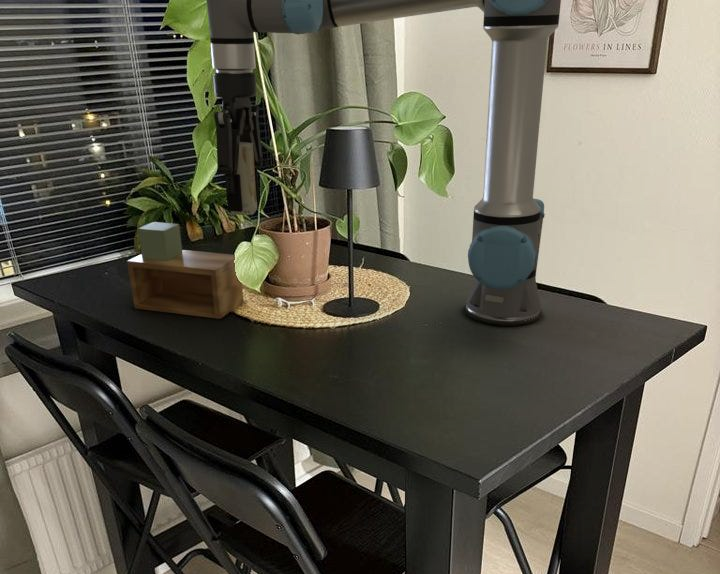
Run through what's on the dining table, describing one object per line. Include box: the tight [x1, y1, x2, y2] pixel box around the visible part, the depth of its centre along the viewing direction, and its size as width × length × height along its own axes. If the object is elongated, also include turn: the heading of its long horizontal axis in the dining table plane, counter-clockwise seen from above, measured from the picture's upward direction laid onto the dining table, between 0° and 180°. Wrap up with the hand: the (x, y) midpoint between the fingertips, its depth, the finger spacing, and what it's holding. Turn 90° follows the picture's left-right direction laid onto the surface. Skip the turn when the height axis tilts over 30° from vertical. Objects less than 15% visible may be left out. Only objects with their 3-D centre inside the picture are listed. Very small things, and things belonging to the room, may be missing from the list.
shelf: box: [126, 249, 244, 320], centre depth 158 cm, size 11×20×10 cm, turn 72°
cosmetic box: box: [230, 142, 258, 216], centre depth 143 cm, size 6×4×12 cm
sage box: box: [137, 221, 183, 261], centre depth 155 cm, size 6×6×6 cm
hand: (244, 206), depth 145 cm, fingers closed on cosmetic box, 7 cm apart
